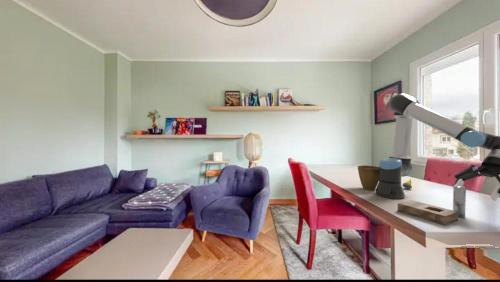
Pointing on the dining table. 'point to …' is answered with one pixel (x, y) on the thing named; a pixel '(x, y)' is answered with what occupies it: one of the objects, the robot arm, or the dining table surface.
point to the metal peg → (459, 200)
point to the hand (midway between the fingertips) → (472, 194)
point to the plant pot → (369, 176)
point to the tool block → (428, 212)
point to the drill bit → (407, 185)
